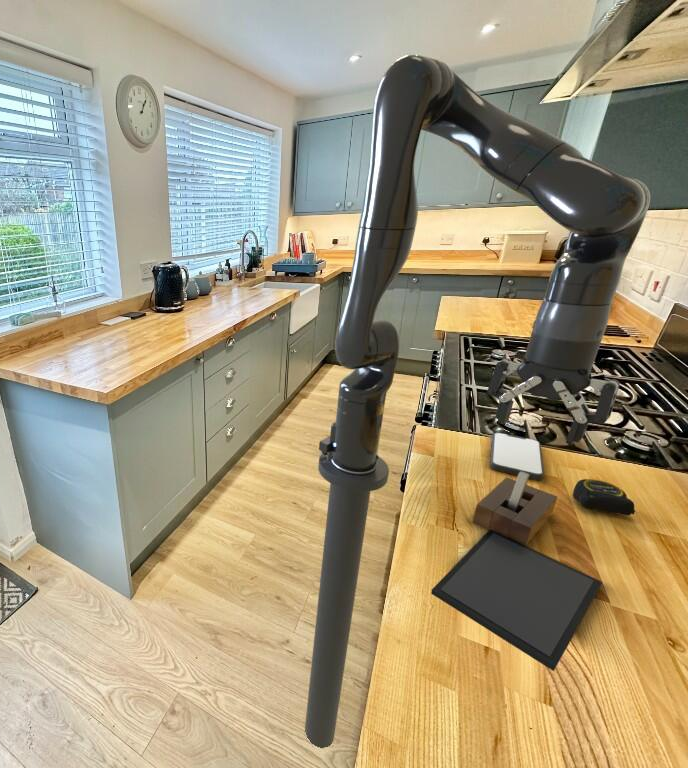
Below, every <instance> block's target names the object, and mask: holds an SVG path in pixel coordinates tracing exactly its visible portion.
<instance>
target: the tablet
mask: <svg viewBox="0 0 688 768" xmlns="http://www.w3.org/2000/svg"><path fill="white" fill-rule="evenodd" d="M602 585H603V581H601V580H599V579H597V578H595V577H593V576H591V575H589V574H586V573H584V572H582V571H580V570H578V569H576V568H575V567H571V566H569V565H568V564H565V563H564V562H562V561H559V560H557V559H554V558H553V557H550V556H549V555H547V554H544V553H542V552H540V551H538V550H536V549H533V548H531V547H529V546H528V545H526V546H525V545H523V544H521V543H518V542H516V541H514V540H512V539H510V538H508V537H506V536H504V535H501V534H499V533H497V532H495V531H493V530H491V529H490V530H487V531H486V533H485V534H484V535H483V536H481V538H480V539H478V541H477V542H476V543H475V544H474V545H473V546H472V547H471V548H470V549H469V550H468V551H467V552H466V553H465V555H463V556H462V558H460V559H459V561H457V563H456V564H455V565H454V566H452V568H451V569H450V570H449V571H448V572H447V573H446V574H445V575H444V576H443V577H441V579H439V581H438V582H437V583H436V584H435V585H434V586H433V588H431V592H430V594H431V595H432V596H434V597H436V598H437V599H439V600H441V601H442V602H444V603H445V604H446V605H448V606H450V607H451V608H453V609H454V610H456V611H458V612H460V614H462V615H464V616H466V617H467V618H469V619H470V620H471V621H474V622H475V623H477V624H478V625H480V626H481V627H483V628H485V629H486V630H488V631H489V632H491V633H493V634H494V635H495V636H497V637H499V638H500V639H502V640H503V641H505V642H507V643H508V644H510V645H511V646H513V647H514V648H516V649H518V650H519V651H521V652H522V653H524V654H525V655H527V656H529V657H530V658H532V659H533V660H535V661H537V662H538V663H540V664H542V665H543V666H544V667H546V668H548V669H549V670H551V671H552V672H554V671H555V670H556V668H557V667H558V664H559V663H560V661H561V659H562V657H563V655H564V654H565V652H566V650H567V648H568V646H569V645H570V643H571V641H572V639H573V638H574V635H575V634H576V632H577V630H578V629H579V627H580V625H581V623H582V622H583V620H584V618H585V617H586V614H587V612H588V610H589V609H590V607H591V605H592V603H593V602H594V599H595V598H596V597H597V594H598V593H599V591H600V589H601V587H602Z"/></svg>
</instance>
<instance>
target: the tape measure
mask: <svg viewBox="0 0 688 768" xmlns="http://www.w3.org/2000/svg"><path fill="white" fill-rule="evenodd" d="M572 496H573V498H574V500H576V502H578V503H579V504H580V506H581V507H583V508H585V509H587V510H592V511H597V512H604V513H610V514H615V515H616V514H617V515H622V516H630V515H634V514H635V512H636V509H635V504H634V502H633V501H632V500H631V498H628V496H627V493H626V492H625V491H624V490H623V489H621V488H620V487H618V486H616V485H614V484H612V483H610V482H607V481H603V480H599V479H593V478H584V479H580V480H579V481H577V482H576V484H575V486H574V488H573V491H572Z"/></svg>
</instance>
